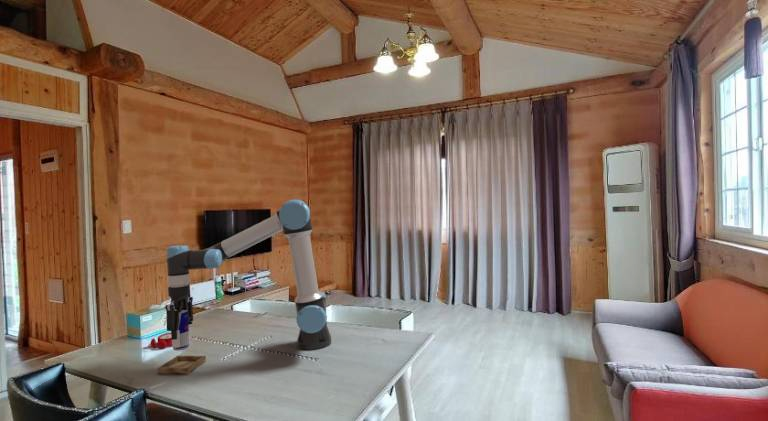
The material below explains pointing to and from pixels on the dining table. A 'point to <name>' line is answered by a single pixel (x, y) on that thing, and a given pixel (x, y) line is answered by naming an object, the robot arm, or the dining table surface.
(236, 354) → the dining table surface
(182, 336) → the beverage can
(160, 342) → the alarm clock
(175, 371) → the tray
